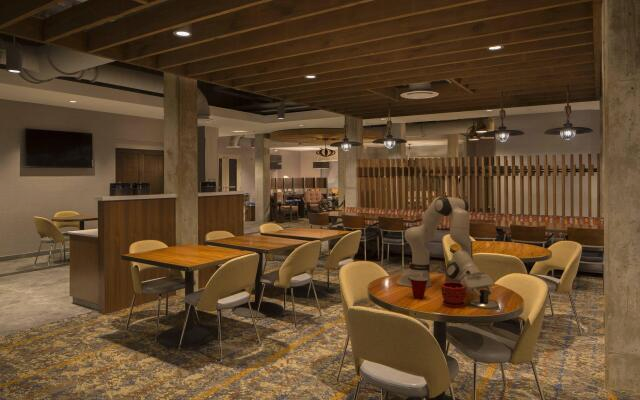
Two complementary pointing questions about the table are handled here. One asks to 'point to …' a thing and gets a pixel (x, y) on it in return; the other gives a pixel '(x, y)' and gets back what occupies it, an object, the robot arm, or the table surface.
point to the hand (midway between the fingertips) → (485, 294)
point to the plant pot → (453, 294)
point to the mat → (483, 308)
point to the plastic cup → (418, 286)
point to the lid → (484, 301)
